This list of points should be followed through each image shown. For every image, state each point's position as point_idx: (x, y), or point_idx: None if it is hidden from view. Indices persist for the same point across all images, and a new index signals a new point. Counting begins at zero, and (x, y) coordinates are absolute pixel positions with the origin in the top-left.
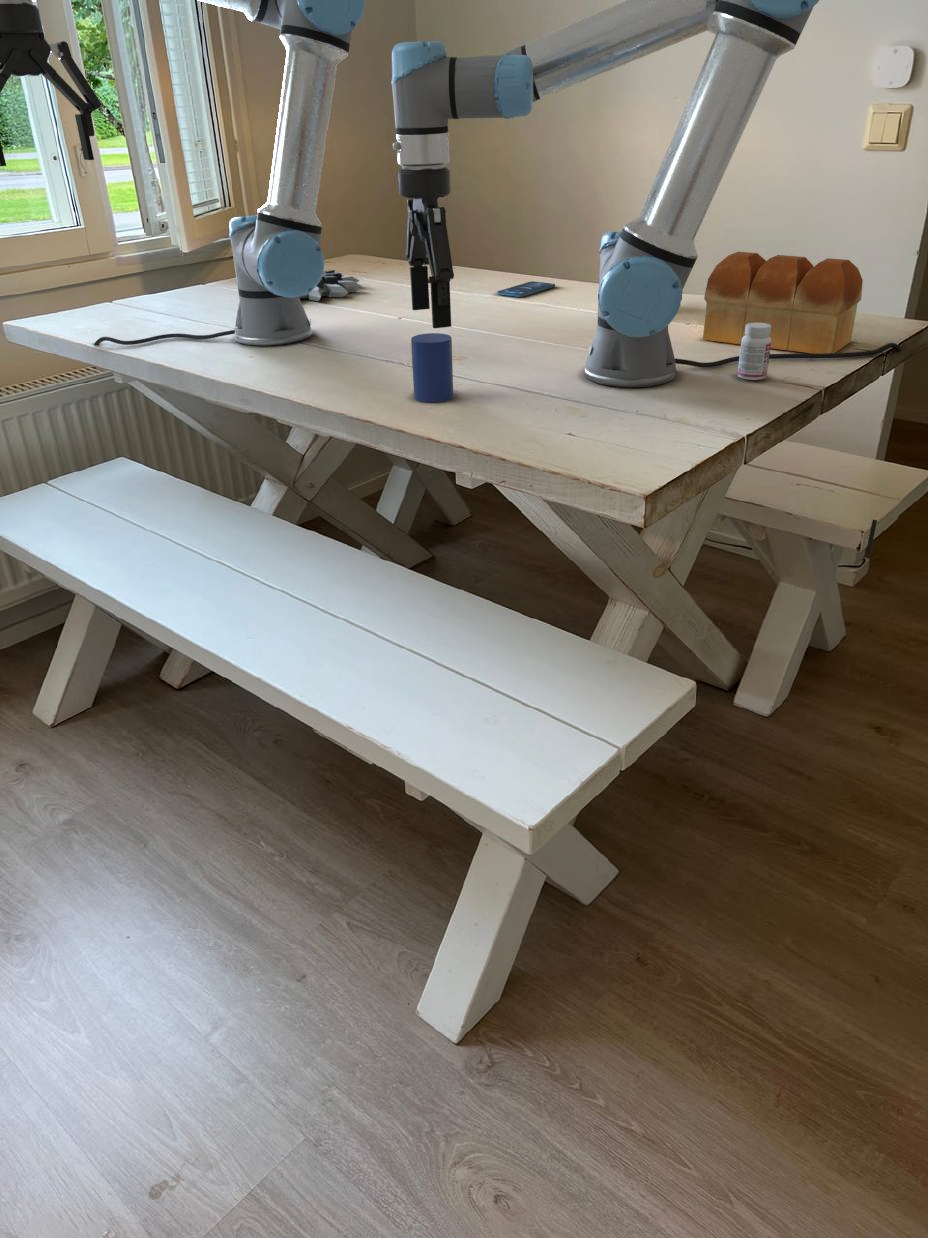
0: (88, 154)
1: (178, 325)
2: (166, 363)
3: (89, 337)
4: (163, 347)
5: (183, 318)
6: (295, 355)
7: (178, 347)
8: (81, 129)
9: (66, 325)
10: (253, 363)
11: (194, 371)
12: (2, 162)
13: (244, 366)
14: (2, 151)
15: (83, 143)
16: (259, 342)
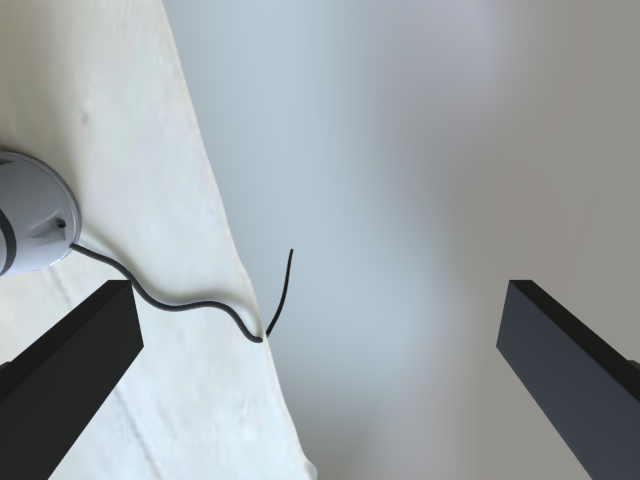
0: (118, 290)
1: (134, 365)
2: (208, 176)
3: (255, 379)
4: (186, 266)
5: (118, 395)
6: (15, 75)
7: (167, 251)
8: (49, 394)
9: (261, 451)
10: (91, 77)
11: (186, 99)
12: (530, 286)
13: (109, 70)
14: (544, 312)
15: (100, 354)
16: (51, 172)
